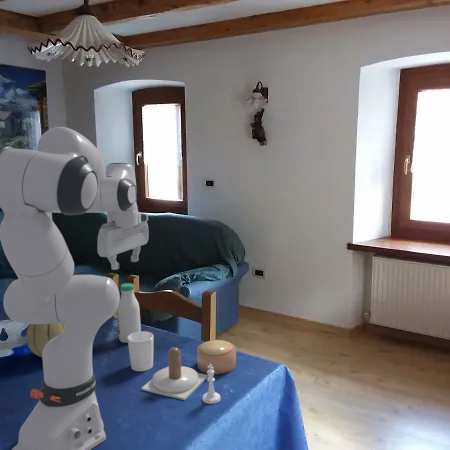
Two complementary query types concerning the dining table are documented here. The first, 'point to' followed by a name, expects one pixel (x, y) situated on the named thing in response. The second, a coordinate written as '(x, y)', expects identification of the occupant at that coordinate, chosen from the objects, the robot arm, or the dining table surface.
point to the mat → (180, 395)
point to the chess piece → (211, 389)
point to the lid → (175, 375)
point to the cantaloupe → (42, 335)
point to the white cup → (141, 350)
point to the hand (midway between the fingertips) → (125, 265)
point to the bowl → (216, 356)
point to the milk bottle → (128, 313)
